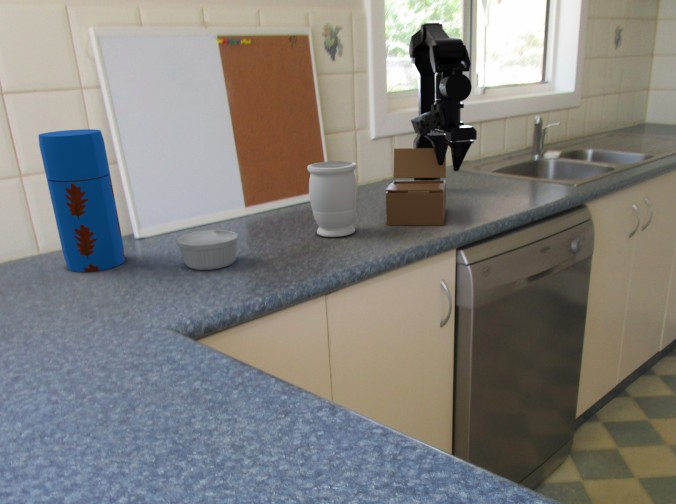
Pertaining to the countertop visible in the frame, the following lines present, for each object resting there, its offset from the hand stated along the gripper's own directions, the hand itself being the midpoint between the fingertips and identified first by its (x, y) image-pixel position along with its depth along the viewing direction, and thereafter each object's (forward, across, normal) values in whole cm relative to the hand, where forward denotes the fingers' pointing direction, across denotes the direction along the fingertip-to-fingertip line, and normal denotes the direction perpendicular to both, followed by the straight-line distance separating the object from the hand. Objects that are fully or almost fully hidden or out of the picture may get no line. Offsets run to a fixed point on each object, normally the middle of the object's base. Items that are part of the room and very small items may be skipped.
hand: (448, 167), depth 156 cm
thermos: (+11, +7, -78) cm, 79 cm away
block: (+11, -3, -6) cm, 13 cm away
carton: (+11, 0, -8) cm, 14 cm away
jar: (+11, +5, -29) cm, 32 cm away
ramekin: (+11, +17, -57) cm, 60 cm away
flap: (0, -8, -4) cm, 9 cm away
